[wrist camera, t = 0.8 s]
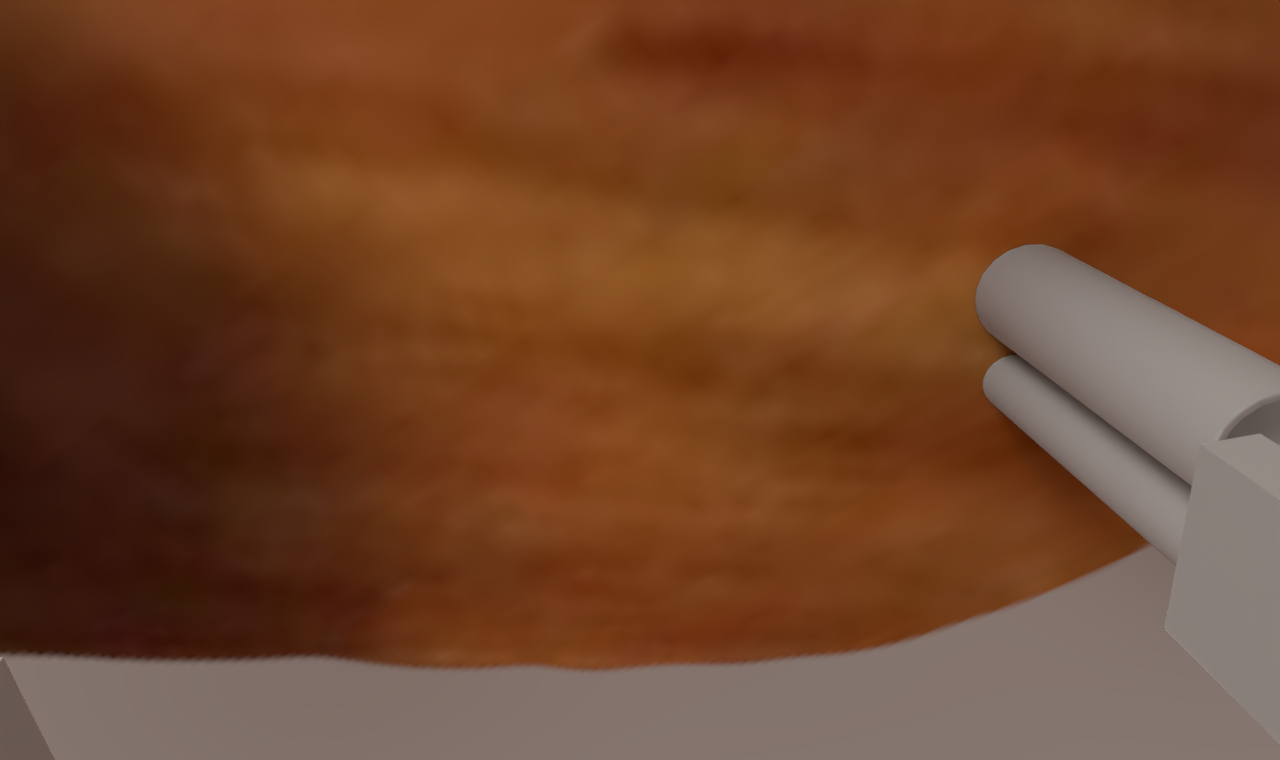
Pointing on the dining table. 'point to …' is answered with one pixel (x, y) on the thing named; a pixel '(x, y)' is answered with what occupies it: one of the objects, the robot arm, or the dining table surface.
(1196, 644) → the robot arm
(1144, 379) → the vase
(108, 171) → the dining table surface
